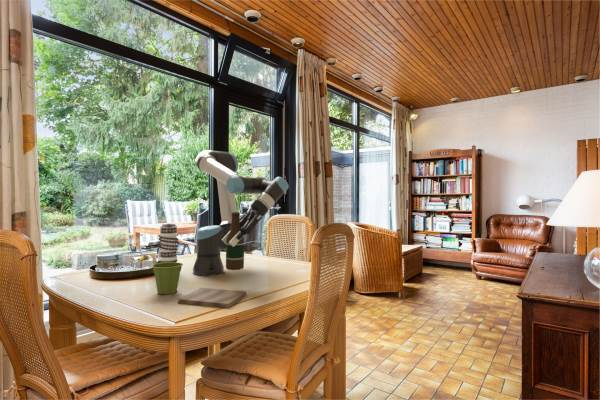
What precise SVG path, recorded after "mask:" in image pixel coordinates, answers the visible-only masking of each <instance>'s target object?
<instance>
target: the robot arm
mask: <svg viewBox="0 0 600 400" xmlns="http://www.w3.org/2000/svg"><path fill="white" fill-rule="evenodd" d="M195 167H196V168H197V169H198V170H199V171H200V172H202V173H203V174H206V175H207V174H208V175H210V176H211V177H213V178H215V179H216V183H217V193H218V199H219V200H218V201H219V208H220V209H219V211H220V217H221V218H220V219H221V223H220V224H219V225H217V224H216V225H215V224H213V225H207V226H206V225H205V226H202V227H200V228H198V230H197V231H196V258H195V262H194V265H193V267H192V274H194V275H197V276H216V275H220V274H223V273H224V271H225V268H224V264H223V261H222V258H221V251H226V239H227V236H228V234H229V232H230V230H231V221H232V215H231V214H232V213H233V212H238V211H237V210H238V209H237V202H236V196H235V195H238V194H239V195H241V194H242V195H243V194H250V195H257V194H258V197H257V198H256V200H254V201H253V202H252V203H251V204H250V208H251V210H249V211H248V212H247V211H245V212H244V213H243V214H242V215H240V216H239V220H240V231H239V232H238V233H237V234H236V235H235V236H234V237H233V238H232V239H231V240H230V242H229V243H230V244H231V245H232V246H233V247H234V246H235V245H236V244H237V243H238V242H239V240H240V239H241V238H242V237H244V245H246V242H247V239H248V235H249V234H250V233H251V232H252V231H253V230H254V228H255V227H256V226H257V224H258V223H259V221H260V220H262V219H263V217H264V216H265V215H266V214H267V213H268V212H269V210H270V209H271V208H273V207H274V205H275V204H276V203H277V202H278V201H279V199H280V198H281V197H282V196H283V195H284V194H285V193H286V191H287V190H288V189H289V187H290V186H289V184H288V182H287V180H286V179H284V178H283V177H281V176H277V177H275V178H274V179H268V178H264V177H263V176H262V177H260V176H255V177H248V176H247V177H246V176H242V175H240V174H239V173H237V171H238V167H239V161H238V158H237V156H236V155H235V154H234V153H232V152H230V151H220V150H219V151H218V150H211V149H209V150H208V149H205V150H203V151H201V152H199V153H198V154H197V156H196V158H195Z"/></svg>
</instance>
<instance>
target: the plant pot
mask: <svg viewBox="0 0 600 400" xmlns="http://www.w3.org/2000/svg"><path fill="white" fill-rule="evenodd" d="M182 266H184V263H182V262H178V261H177V262H165V263H160V262H157V263H153V264H152V265H151V268H152V269H153V273H154V279H155V285H156V290H157V294H159V295H162V294H163V295H165V296H166V295H173V294H175V293H177V291H178V286H179V281H180V280H179V279H180V275H181V272H182Z"/></svg>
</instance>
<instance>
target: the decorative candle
mask: <svg viewBox="0 0 600 400" xmlns="http://www.w3.org/2000/svg"><path fill="white" fill-rule="evenodd" d="M177 228H178V226H177V225H176V223H171V222H169V223H165V222H164V223H163V224H162V225H161V226H160V230H159V231H160V233H159V235H158V241H159V243H158V248H159V249H158V250H159V253H160V255H159V260H158V263H165V262H178V253H177V252H178V250H179V249H178V247H179V246H178V245H177V244H179V241H178V240H179V238H178V237H179V234H178V232H177V231H178V229H177Z"/></svg>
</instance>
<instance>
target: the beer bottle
mask: <svg viewBox="0 0 600 400" xmlns="http://www.w3.org/2000/svg"><path fill="white" fill-rule="evenodd" d="M231 215H232V221H231V230H230V232H229V234H228V236H227V239H226V250H225V269H227V270H228V271H240V270H243V269H244V266H245V265H244V264H245V244H244V237H242V238H241V239H240V240H239V242H238V243H237V244H236V245H235V246H234V247H233V246H232V245H231V244H230V243H229V242H230V240H231V239H232V238H233V237H234V236H235V235H236V234H237V233H238V232H239V231H240V220H239V218H240V217H241V214H240V212H238V211H237V212H233V213H232V214H231Z"/></svg>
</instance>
